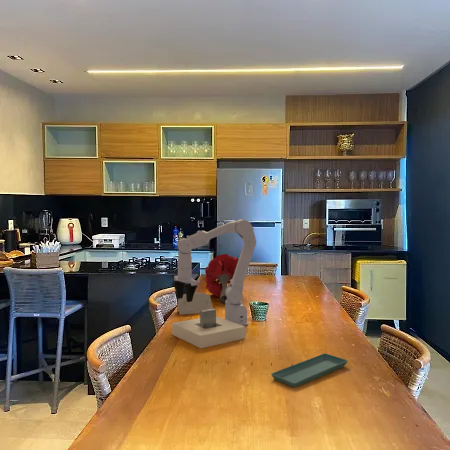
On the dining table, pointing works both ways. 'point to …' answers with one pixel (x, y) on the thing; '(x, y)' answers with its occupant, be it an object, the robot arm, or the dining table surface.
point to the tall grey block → (208, 318)
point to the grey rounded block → (194, 304)
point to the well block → (208, 332)
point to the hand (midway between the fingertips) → (184, 300)
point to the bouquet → (220, 274)
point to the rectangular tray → (309, 370)
